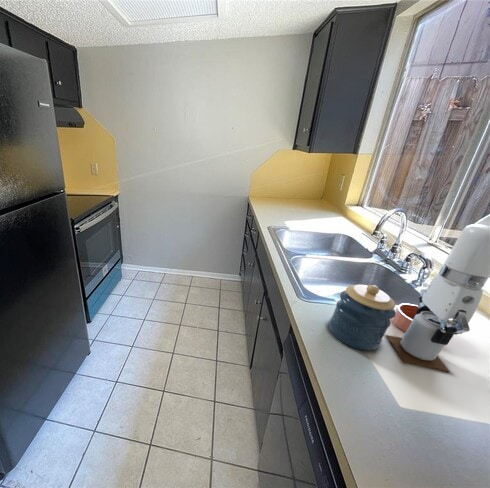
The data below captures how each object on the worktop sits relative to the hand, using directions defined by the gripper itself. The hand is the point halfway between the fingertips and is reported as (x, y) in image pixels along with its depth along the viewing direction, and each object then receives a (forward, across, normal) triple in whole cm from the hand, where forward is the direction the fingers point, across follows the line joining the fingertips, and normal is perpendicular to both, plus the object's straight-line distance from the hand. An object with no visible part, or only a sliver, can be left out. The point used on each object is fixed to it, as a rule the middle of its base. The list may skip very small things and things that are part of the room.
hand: (428, 331), depth 69 cm
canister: (+8, +2, +15) cm, 17 cm away
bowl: (+8, +12, -6) cm, 16 cm away
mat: (+8, 0, 0) cm, 8 cm away
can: (+8, 0, 0) cm, 8 cm away
